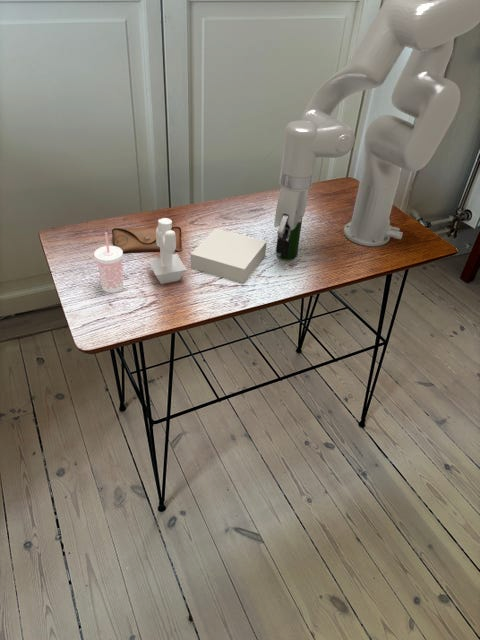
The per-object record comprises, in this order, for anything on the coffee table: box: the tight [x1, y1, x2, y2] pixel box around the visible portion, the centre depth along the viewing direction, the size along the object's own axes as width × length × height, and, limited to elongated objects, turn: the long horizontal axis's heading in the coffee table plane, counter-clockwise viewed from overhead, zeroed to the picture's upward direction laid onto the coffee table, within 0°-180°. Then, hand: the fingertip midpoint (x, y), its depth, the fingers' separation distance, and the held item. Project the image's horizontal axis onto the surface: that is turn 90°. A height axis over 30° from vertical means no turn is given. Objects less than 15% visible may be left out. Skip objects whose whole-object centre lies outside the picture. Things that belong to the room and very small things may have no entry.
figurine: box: [147, 217, 187, 285], centre depth 116 cm, size 7×9×15 cm
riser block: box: [189, 227, 267, 284], centre depth 126 cm, size 14×14×4 cm
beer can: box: [275, 215, 303, 263], centre depth 126 cm, size 5×5×12 cm
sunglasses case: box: [111, 226, 183, 255], centre depth 131 cm, size 18×7×7 cm, turn 100°
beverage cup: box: [93, 231, 124, 294], centre depth 112 cm, size 6×6×14 cm
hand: (287, 245), depth 128 cm, fingers open, 7 cm apart
